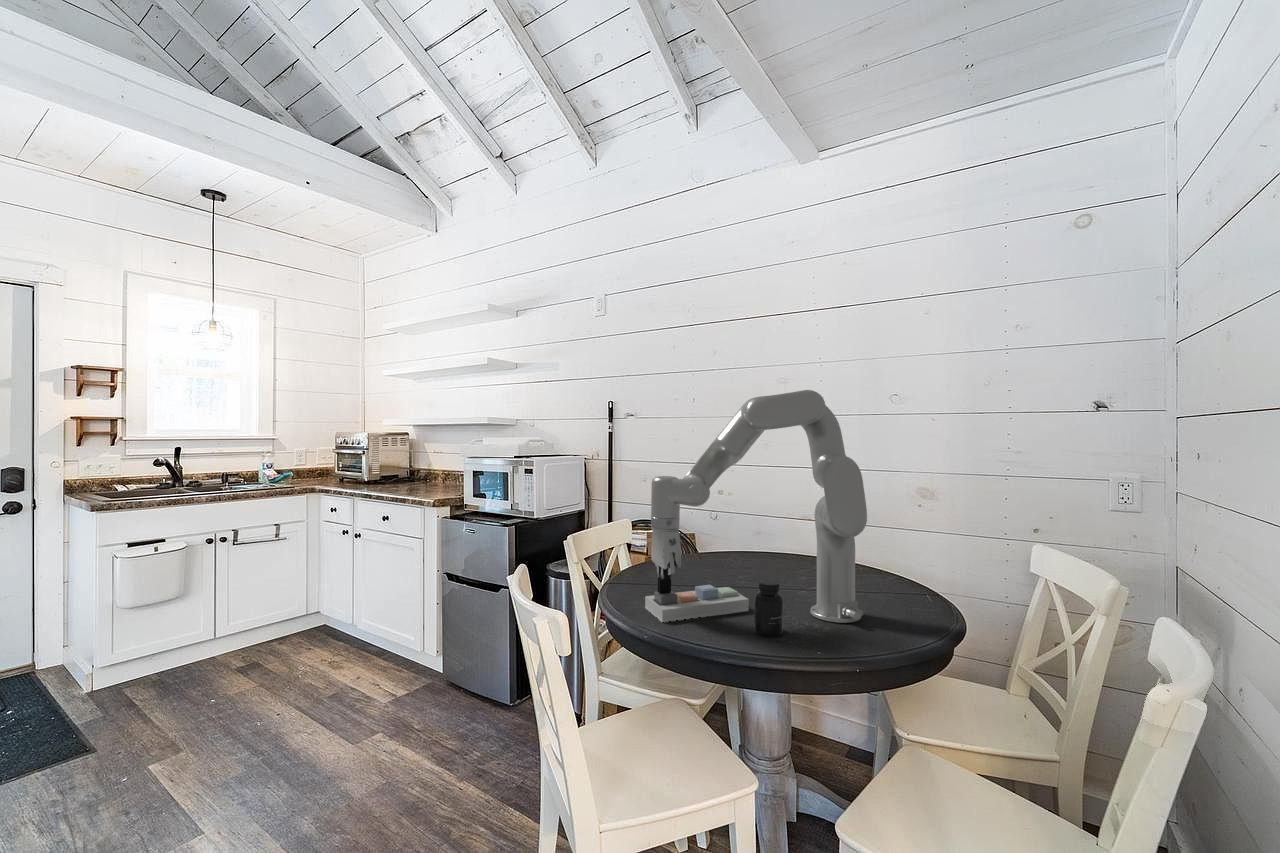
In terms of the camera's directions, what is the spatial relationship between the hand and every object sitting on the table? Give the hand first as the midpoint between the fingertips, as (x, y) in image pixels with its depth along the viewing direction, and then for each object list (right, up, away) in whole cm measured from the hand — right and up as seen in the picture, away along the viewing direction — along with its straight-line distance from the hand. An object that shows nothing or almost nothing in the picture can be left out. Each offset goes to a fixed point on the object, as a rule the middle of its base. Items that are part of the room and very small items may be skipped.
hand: (664, 592), depth 152 cm
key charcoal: (0, -3, 0) cm, 3 cm away
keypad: (+9, -6, +3) cm, 11 cm away
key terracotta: (+6, -4, +2) cm, 8 cm away
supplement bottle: (+25, -6, -13) cm, 29 cm away
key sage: (+17, -4, +6) cm, 19 cm away
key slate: (+12, -3, +4) cm, 13 cm away
